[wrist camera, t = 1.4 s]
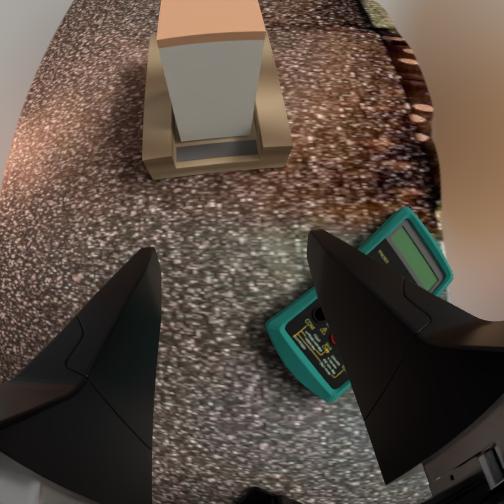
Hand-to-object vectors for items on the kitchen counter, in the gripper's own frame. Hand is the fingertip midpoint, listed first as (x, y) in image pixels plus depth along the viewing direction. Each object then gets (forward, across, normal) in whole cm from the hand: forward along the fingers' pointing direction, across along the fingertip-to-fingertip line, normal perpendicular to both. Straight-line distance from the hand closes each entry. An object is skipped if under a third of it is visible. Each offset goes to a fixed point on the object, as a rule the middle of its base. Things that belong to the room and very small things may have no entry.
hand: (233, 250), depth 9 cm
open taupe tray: (+19, 0, -2) cm, 19 cm away
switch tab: (+16, 0, -1) cm, 16 cm away
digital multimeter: (+7, -10, +11) cm, 17 cm away
